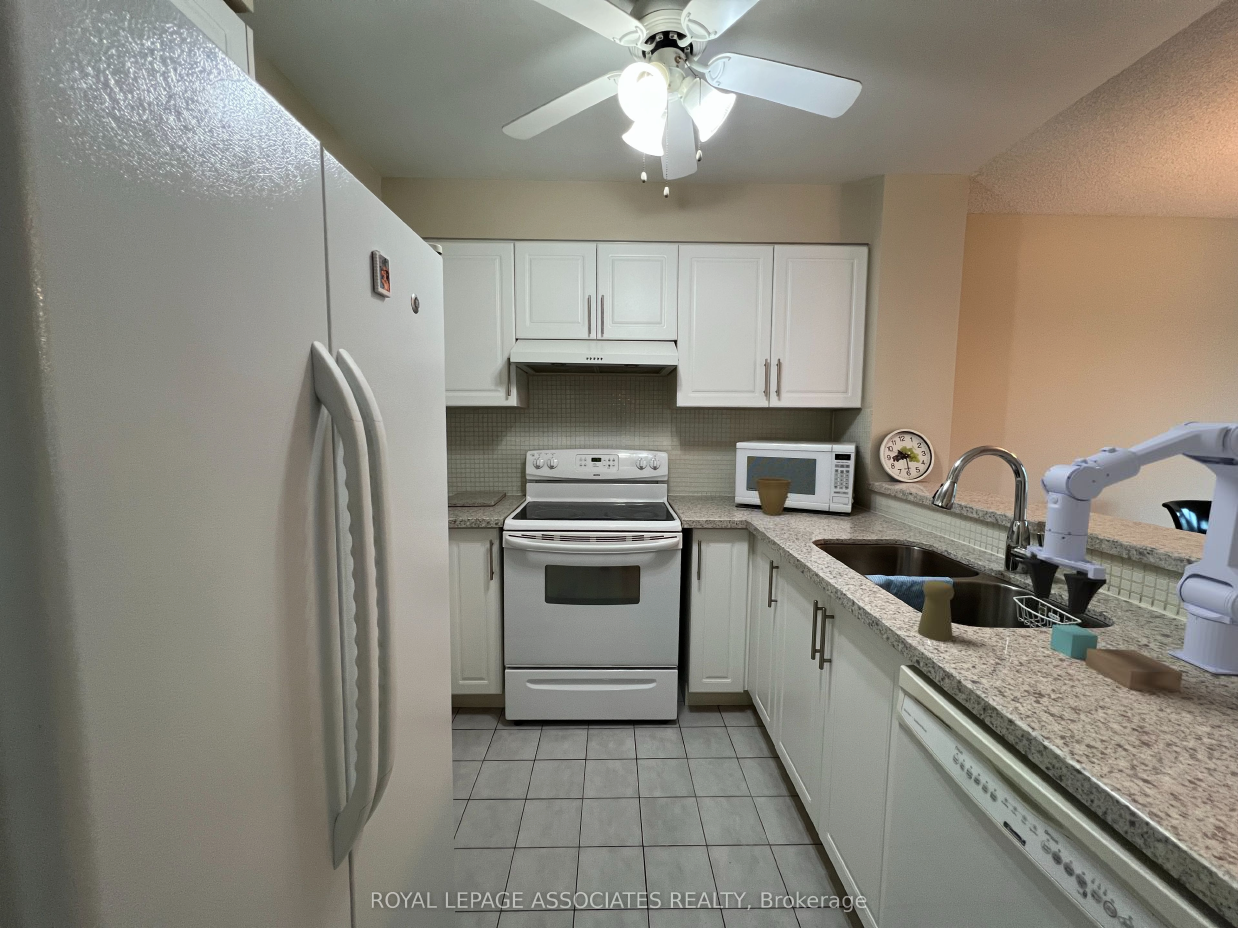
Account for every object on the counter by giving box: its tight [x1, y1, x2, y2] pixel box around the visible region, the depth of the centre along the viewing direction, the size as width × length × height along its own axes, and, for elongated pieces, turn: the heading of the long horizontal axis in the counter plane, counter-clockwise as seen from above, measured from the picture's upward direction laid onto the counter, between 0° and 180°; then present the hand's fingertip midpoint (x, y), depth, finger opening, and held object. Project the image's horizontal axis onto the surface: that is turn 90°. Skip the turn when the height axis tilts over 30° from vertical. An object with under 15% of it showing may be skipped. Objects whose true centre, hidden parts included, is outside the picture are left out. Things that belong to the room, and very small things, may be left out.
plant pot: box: [756, 477, 792, 516], centre depth 228 cm, size 15×15×16 cm
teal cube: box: [1049, 624, 1099, 659], centre depth 94 cm, size 4×4×4 cm
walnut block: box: [1085, 648, 1183, 692], centre depth 85 cm, size 8×8×4 cm
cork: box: [917, 579, 955, 642], centre depth 101 cm, size 6×6×11 cm
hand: (1058, 605), depth 91 cm, fingers open, 7 cm apart
